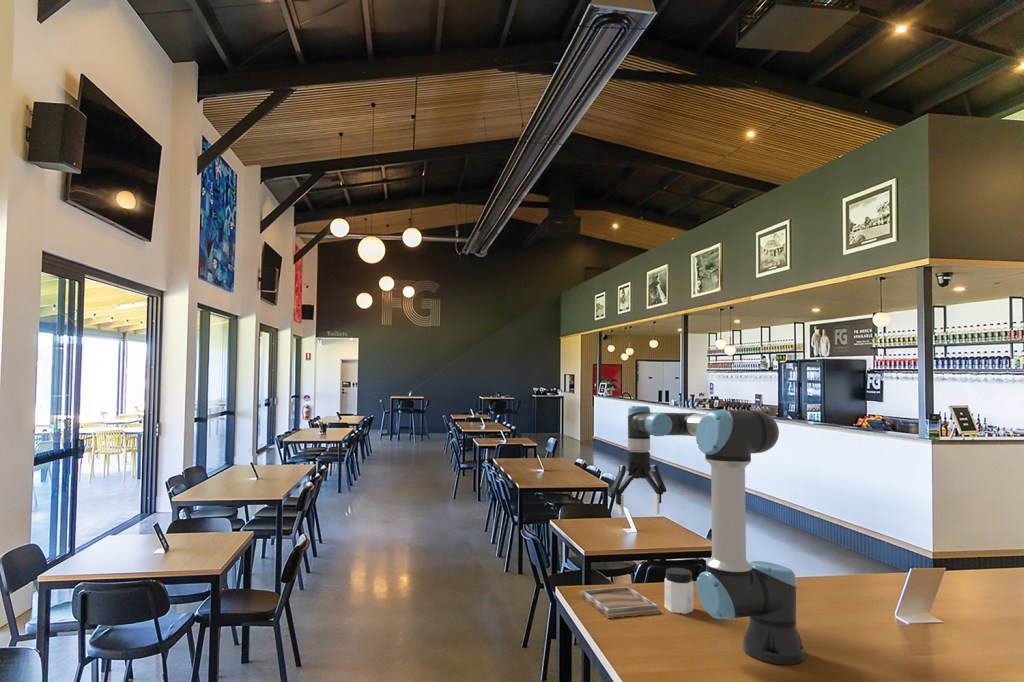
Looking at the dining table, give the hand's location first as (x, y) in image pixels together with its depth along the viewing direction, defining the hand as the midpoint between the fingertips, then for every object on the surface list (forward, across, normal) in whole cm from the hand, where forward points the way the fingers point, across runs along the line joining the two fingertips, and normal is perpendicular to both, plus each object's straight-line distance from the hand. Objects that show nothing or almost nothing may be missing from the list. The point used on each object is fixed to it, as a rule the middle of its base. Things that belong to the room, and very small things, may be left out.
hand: (638, 513), depth 211 cm
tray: (+28, +10, +4) cm, 30 cm away
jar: (+28, -7, +13) cm, 32 cm away
